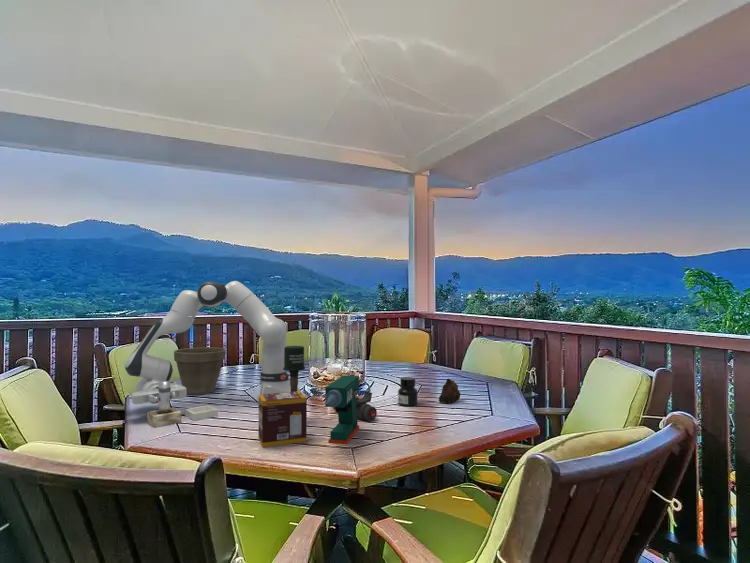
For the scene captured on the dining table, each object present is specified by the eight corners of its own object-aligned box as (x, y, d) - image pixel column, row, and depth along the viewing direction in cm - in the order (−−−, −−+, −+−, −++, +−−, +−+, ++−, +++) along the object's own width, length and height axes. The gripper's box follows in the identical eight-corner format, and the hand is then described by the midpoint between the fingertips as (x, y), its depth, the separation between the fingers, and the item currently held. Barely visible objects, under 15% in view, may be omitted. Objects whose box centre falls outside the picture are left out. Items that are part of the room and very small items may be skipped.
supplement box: (257, 438, 157) (258, 394, 157) (300, 433, 163) (300, 390, 163) (261, 447, 147) (262, 401, 148) (306, 442, 153) (307, 397, 154)
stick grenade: (286, 426, 170) (287, 348, 171) (280, 420, 178) (280, 346, 178) (307, 423, 174) (308, 347, 175) (300, 417, 182) (301, 345, 182)
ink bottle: (395, 402, 207) (395, 377, 207) (412, 401, 210) (412, 375, 210) (402, 407, 198) (402, 381, 198) (420, 406, 201) (420, 379, 201)
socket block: (173, 416, 183) (173, 407, 183) (181, 422, 175) (181, 412, 175) (146, 421, 176) (147, 411, 176) (154, 427, 168) (154, 417, 169)
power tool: (336, 459, 138) (337, 395, 138) (315, 457, 139) (315, 393, 139) (360, 428, 169) (360, 375, 169) (342, 426, 170) (343, 374, 171)
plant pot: (213, 384, 245) (214, 345, 246) (233, 392, 227) (233, 349, 228) (166, 391, 229) (167, 349, 229) (183, 400, 210) (184, 354, 211)
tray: (208, 411, 192) (208, 405, 192) (217, 415, 184) (217, 409, 184) (184, 415, 185) (184, 409, 185) (193, 420, 177) (193, 414, 178)
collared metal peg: (172, 420, 177) (173, 380, 177) (164, 424, 173) (164, 383, 173) (163, 419, 178) (164, 380, 179) (155, 423, 174) (155, 382, 174)
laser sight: (346, 409, 196) (346, 386, 197) (381, 419, 180) (381, 395, 181) (328, 413, 190) (328, 389, 190) (364, 424, 174) (364, 399, 174)
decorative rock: (453, 398, 215) (453, 376, 215) (462, 401, 210) (463, 378, 211) (436, 402, 207) (436, 379, 207) (446, 405, 203) (446, 381, 203)
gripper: (127, 388, 179) (136, 394, 168) (180, 381, 192) (191, 386, 182) (127, 404, 178) (136, 411, 168) (179, 396, 192) (191, 402, 182)
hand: (165, 398), depth 175 cm, fingers open, 5 cm apart
